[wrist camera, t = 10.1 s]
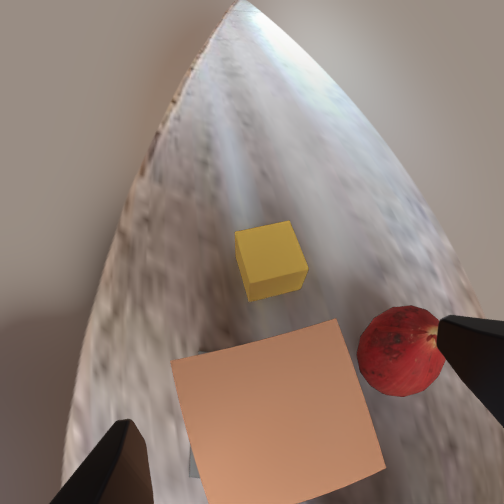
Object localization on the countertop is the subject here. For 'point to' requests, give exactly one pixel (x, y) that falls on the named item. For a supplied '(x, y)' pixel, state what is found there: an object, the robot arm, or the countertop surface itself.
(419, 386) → the onion
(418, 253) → the countertop surface
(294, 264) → the block
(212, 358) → the tan rectangular block
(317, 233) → the countertop surface
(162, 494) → the countertop surface
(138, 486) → the robot arm
